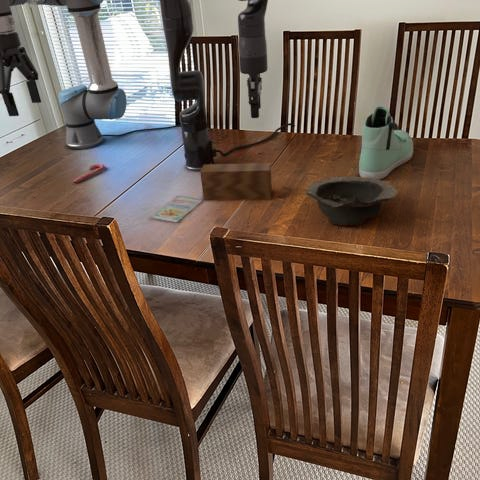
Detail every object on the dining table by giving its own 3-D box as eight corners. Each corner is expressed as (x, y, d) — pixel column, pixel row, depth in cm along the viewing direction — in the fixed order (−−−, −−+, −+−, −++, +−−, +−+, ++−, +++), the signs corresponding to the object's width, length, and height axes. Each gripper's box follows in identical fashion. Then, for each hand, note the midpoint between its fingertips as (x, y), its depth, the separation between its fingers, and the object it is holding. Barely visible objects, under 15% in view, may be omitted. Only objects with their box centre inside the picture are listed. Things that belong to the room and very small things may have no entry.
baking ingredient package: (151, 216, 142) (178, 195, 153) (151, 217, 142) (178, 197, 153) (176, 221, 138) (202, 199, 149) (176, 222, 138) (202, 201, 150)
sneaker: (418, 146, 175) (426, 90, 164) (396, 184, 150) (403, 120, 139) (381, 142, 181) (385, 87, 170) (353, 178, 156) (357, 116, 145)
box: (203, 200, 150) (200, 172, 145) (206, 192, 155) (203, 164, 150) (270, 199, 148) (269, 170, 143) (271, 191, 152) (270, 162, 147)
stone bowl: (342, 242, 123) (342, 209, 118) (290, 211, 143) (288, 182, 139) (415, 214, 131) (417, 183, 127) (356, 189, 152) (356, 161, 147)
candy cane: (65, 180, 171) (64, 177, 170) (98, 165, 181) (97, 162, 180) (76, 184, 168) (75, 180, 167) (108, 168, 178) (107, 164, 177)
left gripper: (-10, 39, 122) (16, 121, 133) (37, 25, 143) (56, 97, 154) (-37, 41, 123) (-9, 122, 134) (13, 26, 144) (34, 97, 155)
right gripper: (265, 58, 122) (268, 120, 130) (268, 47, 134) (270, 105, 142) (236, 59, 123) (240, 121, 131) (241, 48, 135) (245, 106, 143)
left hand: (25, 109), depth 144 cm, fingers open, 13 cm apart
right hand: (256, 113), depth 137 cm, fingers open, 8 cm apart
